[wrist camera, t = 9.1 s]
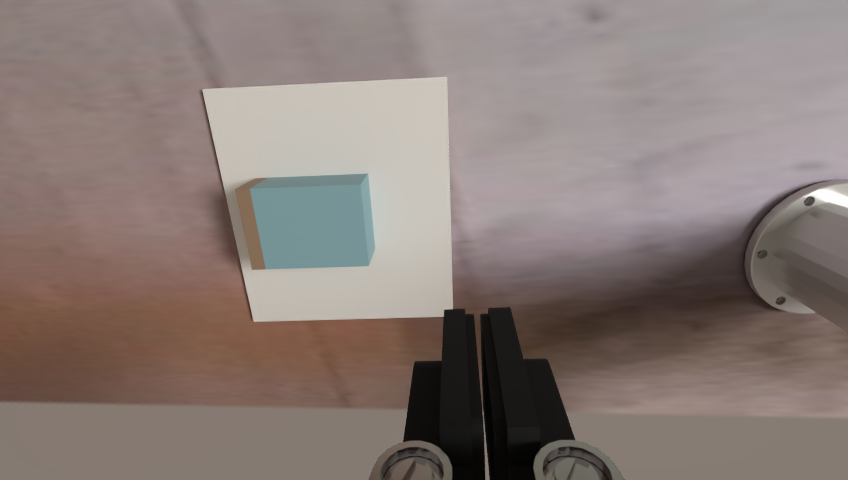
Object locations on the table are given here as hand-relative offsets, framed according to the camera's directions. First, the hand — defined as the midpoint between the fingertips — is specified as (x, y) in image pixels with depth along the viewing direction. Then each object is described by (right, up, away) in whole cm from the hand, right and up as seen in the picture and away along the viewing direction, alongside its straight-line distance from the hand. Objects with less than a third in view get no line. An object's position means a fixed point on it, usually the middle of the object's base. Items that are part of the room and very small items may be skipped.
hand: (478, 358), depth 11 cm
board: (-9, +6, +28) cm, 30 cm away
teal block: (-6, +5, +25) cm, 26 cm away
